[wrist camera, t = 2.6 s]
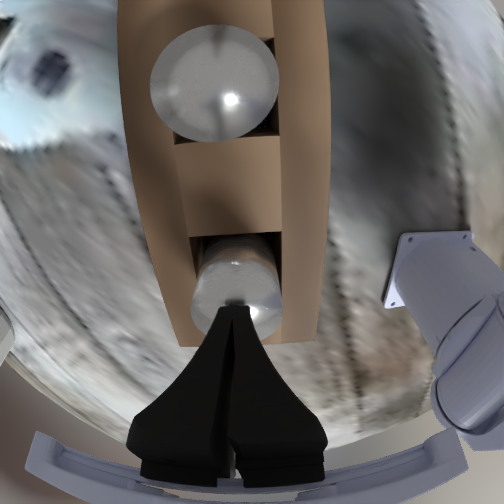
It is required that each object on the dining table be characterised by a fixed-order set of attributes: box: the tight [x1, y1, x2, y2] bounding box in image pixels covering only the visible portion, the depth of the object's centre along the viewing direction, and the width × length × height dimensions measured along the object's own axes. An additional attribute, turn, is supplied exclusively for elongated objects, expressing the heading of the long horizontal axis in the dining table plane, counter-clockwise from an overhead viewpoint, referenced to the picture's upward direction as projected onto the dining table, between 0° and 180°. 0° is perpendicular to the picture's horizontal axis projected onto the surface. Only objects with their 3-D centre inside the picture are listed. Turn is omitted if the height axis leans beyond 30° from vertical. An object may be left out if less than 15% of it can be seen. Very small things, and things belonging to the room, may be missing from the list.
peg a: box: [150, 24, 279, 142], centre depth 10 cm, size 4×4×5 cm
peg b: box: [191, 233, 283, 340], centre depth 15 cm, size 4×4×5 cm
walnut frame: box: [117, 0, 331, 347], centre depth 15 cm, size 10×23×5 cm, turn 3°
